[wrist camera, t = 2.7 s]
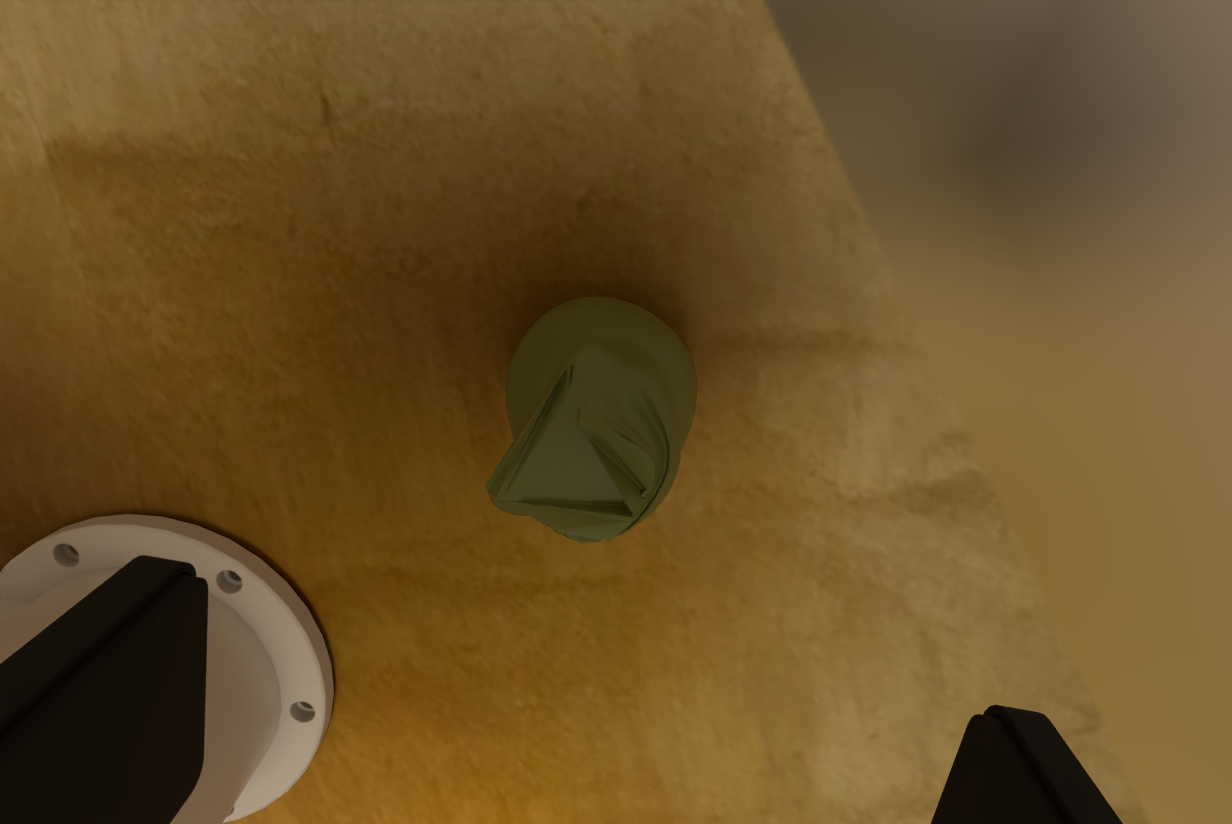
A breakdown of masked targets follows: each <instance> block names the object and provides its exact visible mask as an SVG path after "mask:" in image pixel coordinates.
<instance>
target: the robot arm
mask: <svg viewBox="0 0 1232 824" xmlns="http://www.w3.org/2000/svg"><path fill="white" fill-rule="evenodd" d="M333 696H334V687H333V676H332V665H331V661H330V658H329V655H328V652H327V649H326V645H325V642H324V639H323V636H322V634H321V632H320V630H319V628H318V626H317V625H316V623H315V621H314V619H313V617H312V615H311V613H310V612H309V610H308V608H307V607H306V605H305V604H304V603H303V602H302V600H301V599H300V598H299V597H298V595H297V594H296V593H295V592H294V590H293V589H292V588H291V587H290V585H289V584H288V583H287V582H286V581H285V580H284V579H283V578H282V577H281V576H280V575H278V574H277V573H276V572H275V571H274V570H273V569H272V568H271V567H269V566H268V565H267V564H266V563H265V562H264V561H263V560H262V559H260V558H259V557H257V556H256V555H254V554H253V553H251V552H249V551H248V550H246V549H245V548H243V547H242V546H240V545H238V544H237V543H235V542H234V541H232V540H231V539H228V538H226V537H224V536H221V535H219V534H217V533H214V532H212V531H210V530H207V529H205V528H203V527H200V526H198V525H194V524H190V523H186V522H182V521H178V520H174V519H170V518H166V517H162V516H149V515H136V514H122V515H112V516H102V517H94V518H91V519H87V520H84V521H81V522H78V523H74V524H71V525H68V526H64V527H62V528H61V529H59V530H57V531H55V532H53V533H52V534H50V535H48V536H46V537H45V538H43V539H41V540H39V541H37V542H36V543H34V544H33V545H31V546H30V547H29V548H27V549H26V550H24V551H23V552H22V553H20V554H19V555H17V556H16V557H15V558H13V559H12V560H11V561H9V562H8V563H7V565H6V566H5V567H4V568H3V569H2V570H1V572H0V824H222V823H226V822H230V821H234V820H238V819H241V818H243V817H246V816H248V815H250V814H252V813H254V812H257V811H259V810H261V809H263V808H265V807H267V806H268V805H270V804H271V803H272V802H274V801H275V800H276V799H278V798H279V797H281V796H282V795H283V794H285V793H286V792H287V791H289V789H290V788H291V787H292V786H293V785H294V784H295V783H296V781H297V780H298V779H299V778H300V777H301V776H302V774H303V773H304V772H305V771H306V770H307V768H308V766H309V764H310V763H311V761H312V759H313V757H314V755H315V754H316V752H317V750H318V748H319V747H320V745H321V743H322V740H323V738H324V735H325V732H326V730H327V727H328V724H329V722H330V719H331V711H332V704H333ZM931 824H1123V823H1122V822H1121V821H1120V819H1119V818H1118V816H1117V815H1116V814H1115V812H1114V811H1113V809H1112V808H1111V806H1110V805H1109V804H1108V802H1107V801H1106V799H1105V798H1104V796H1103V795H1102V794H1101V792H1100V791H1099V789H1098V788H1097V787H1096V785H1095V784H1094V782H1093V781H1092V779H1091V778H1090V777H1089V775H1088V774H1087V772H1086V771H1085V770H1084V768H1083V767H1082V765H1081V764H1080V762H1079V761H1078V760H1077V758H1076V757H1075V755H1074V754H1073V753H1072V751H1071V750H1070V748H1069V747H1068V745H1067V744H1066V743H1065V741H1064V740H1063V738H1062V737H1061V735H1060V734H1059V733H1058V731H1057V730H1056V728H1055V727H1054V726H1053V724H1052V723H1051V721H1050V720H1049V719H1048V718H1047V717H1046V716H1045V715H1044V714H1041V713H1039V712H1034V711H1028V710H1022V709H1017V708H1011V707H1005V706H1000V705H993V706H990V707H989V708H988V709H987V710H986V711H985V712H984V714H983V715H980V714H977V715H974V716H973V717H972V718H971V719H970V721H969V723H968V725H967V728H966V731H965V733H964V736H963V739H962V741H961V744H960V747H959V749H958V752H957V755H956V757H955V760H954V763H953V766H952V768H951V771H950V774H949V776H948V779H947V782H946V784H945V787H944V790H943V792H942V795H941V798H940V800H939V803H938V806H937V809H936V811H935V814H934V817H933V819H932V822H931Z"/></svg>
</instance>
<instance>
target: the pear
mask: <svg viewBox="0 0 1232 824" xmlns="http://www.w3.org/2000/svg"><path fill="white" fill-rule="evenodd" d="M696 400H697V377H696V372H695V368H694V364H693V361H692V359H691V356H690V354H689V352H688V350H687V349H686V347H685V345H684V344H683V342H682V341H681V339H680V338H679V337H678V336H677V334H676V333H675V332H674V331H673V330H672V329H671V328H670V327H669V326H668V325H667V324H665V323H664V322H663V321H662V320H660V319H659V318H658V317H656V316H655V315H653V314H652V313H650V312H649V311H647V310H645V309H643V308H641V307H639V306H637V305H634V304H632V303H629V302H626V301H623V300H620V299H615V298H610V297H600V296H591V297H582V298H577V299H573V300H570V301H567V302H565V303H562V304H560V305H558V306H556V307H555V308H553V309H551V310H550V311H548V312H547V313H546V314H544V315H543V316H542V317H541V318H540V319H539V320H537V321H536V322H535V323H534V324H533V326H532V327H531V328H530V329H529V330H528V331H527V333H526V334H525V335H524V337H523V338H522V340H521V341H520V343H519V345H518V347H517V349H516V351H515V353H514V355H513V358H512V360H511V363H510V367H509V370H508V375H507V382H506V405H507V413H508V419H509V423H510V427H511V431H512V434H513V437H514V441H513V442H512V444H511V446H510V447H509V449H508V451H507V452H506V454H505V455H504V457H503V459H502V460H501V462H500V464H499V465H498V467H497V468H496V470H495V472H494V473H493V475H492V476H491V478H490V480H489V481H488V483H487V485H486V489H487V492H488V494H489V496H490V499H491V501H492V502H493V504H494V505H495V506H496V507H498V508H499V509H501V510H502V511H505V512H507V513H510V514H514V515H520V516H530V517H533V518H535V519H536V520H538V521H540V522H542V523H544V524H546V525H547V526H549V527H550V528H551V529H553V530H554V531H555V532H557V533H559V534H563V535H564V536H566V537H567V538H569V539H572V540H576V541H578V542H579V543H590V542H591V543H592V542H601V541H603V540H604V541H605V540H607V541H608V540H609V541H610V540H611V539H613V538H614V537H617V536H619V535H621V534H623V533H625V532H627V531H628V530H630V529H631V528H633V527H634V526H635V525H637V524H638V523H640V522H641V521H642V520H644V519H645V518H646V517H648V516H649V515H650V514H651V513H652V512H653V511H654V510H655V509H656V508H657V507H658V506H659V505H660V504H661V502H662V501H663V500H664V498H665V497H666V495H667V494H668V492H669V490H670V489H671V487H672V484H673V482H674V480H675V477H676V474H677V471H678V467H679V463H680V456H681V450H682V448H683V446H684V444H685V441H686V439H687V436H688V433H689V430H690V427H691V424H692V420H693V416H694V412H695V407H696Z"/></svg>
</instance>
